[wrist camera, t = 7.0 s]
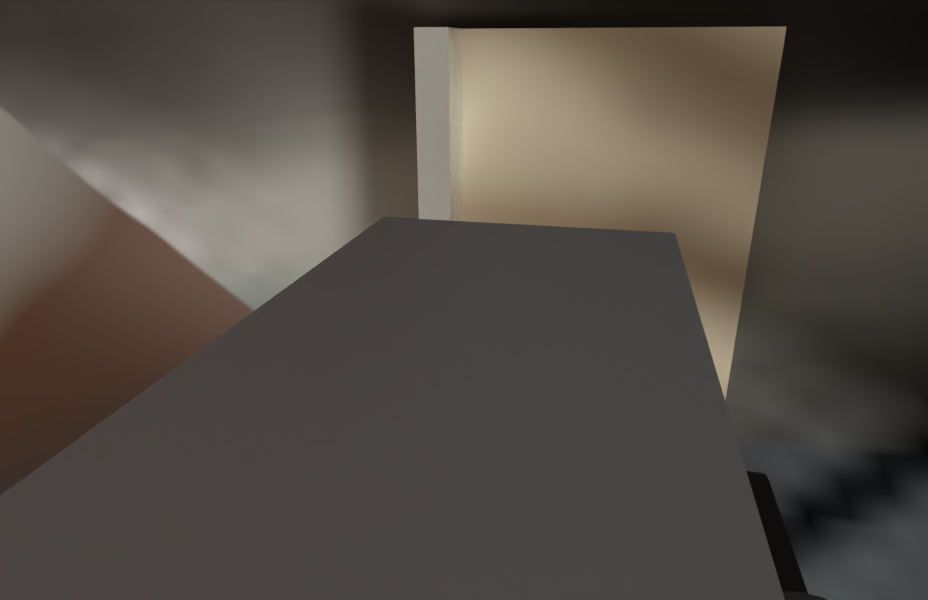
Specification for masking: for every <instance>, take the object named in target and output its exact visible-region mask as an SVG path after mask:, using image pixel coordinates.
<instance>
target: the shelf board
mask: <svg viewBox="0 0 928 600" xmlns="http://www.w3.org/2000/svg"><path fill="white" fill-rule="evenodd" d="M786 28H787V26H785V27H638V28H491V29H460V28H452V27H414V55H415V93H416V131H417V169H418V208H419V219H431V220H450V221H468V222H486V223H505V224H523V225H541V226H560V227H578V228H597V229H615V230H633V231H652V232H670V233H675V235H676V238H677V241H678V245H679V248H680V251H681V255H682V258H683V261H684V265H685V268H686V271H687V275H688V278H689V281H690V285H691V288H692V291H693V295H694V298H695V302H696V305H697V308H698V312H699V315H700V318H701V322H702V325H703V328H704V332H705V335H706V338H707V342H708V345H709V348H710V352H711V355H712V358H713V362H714V365H715V368H716V372H717V375H718V378H719V382H720V385H721V388H722V392H723V395H724V398H725V399H726V393H727V387H728V381H729V375H730V369H731V363H732V357H733V350H734V344H735V338H736V332H737V326H738V320H739V314H740V308H741V302H742V296H743V290H744V284H745V278H746V271H747V265H748V259H749V253H750V247H751V241H752V235H753V229H754V223H755V217H756V211H757V205H758V199H759V192H760V186H761V180H762V174H763V168H764V162H765V156H766V150H767V144H768V138H769V132H770V126H771V119H772V113H773V107H774V101H775V95H776V89H777V83H778V77H779V71H780V65H781V59H782V53H783V47H784V40H785V34H786Z"/></svg>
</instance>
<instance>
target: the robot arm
mask: <svg viewBox="0 0 928 600" xmlns="http://www.w3.org/2000/svg"><path fill="white" fill-rule="evenodd" d="M746 472H747V475H748V478H749V482H750V485H751V488H752V492H753V495H754V498H755V502H756V505H757V508H758V512H759V515H760V518H761V522H762V525H763V528H764V532H765V535H766V538H767V542H768V545H769V548H770V552H771V555H772V558H773V562H774V565H775V568H776V572H777V575H778V578H779V582H780V585H781V589H782V592H783V595H784V599H785V600H827V599H825V598H823V597H819V596H815V595H811V594H808V592H807V589H806V587H805V584H804V581H803V578H802V575H801V572H800V569H799V566H798V563H797V560H796V558H795V555H794V552H793V549H792V546H791V543H790V540H789V537H788V534H787V531H786V529H785V526H784V523H783V520H782V517H781V514H780V511H779V508H778V505H777V502H776V500H775V497H774V494H773V491H772V488H771V485H770V482H769V480H768V478H767V476H766V475H765V474H763V473H758V472H750V471H746Z"/></svg>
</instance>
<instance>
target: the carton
mask: <svg viewBox="0 0 928 600" xmlns="http://www.w3.org/2000/svg"><path fill="white" fill-rule="evenodd" d="M0 600H785V599H784V595H783V592H782V589H781V585H780V582H779V578H778V575H777V572H776V568H775V565H774V562H773V558H772V555H771V552H770V548H769V545H768V542H767V538H766V535H765V532H764V528H763V525H762V522H761V518H760V515H759V512H758V508H757V505H756V502H755V498H754V495H753V492H752V488H751V485H750V482H749V478H748V475H747V472H746V468H745V465H744V462H743V458H742V455H741V452H740V448H739V445H738V442H737V438H736V435H735V432H734V428H733V425H732V422H731V418H730V415H729V412H728V408H727V405H726V402H725V398H724V395H723V392H722V388H721V385H720V382H719V378H718V375H717V372H716V368H715V365H714V362H713V358H712V355H711V352H710V348H709V345H708V342H707V338H706V335H705V332H704V328H703V325H702V322H701V318H700V315H699V312H698V308H697V305H696V302H695V298H694V295H693V291H692V288H691V285H690V281H689V278H688V275H687V271H686V268H685V265H684V261H683V258H682V255H681V251H680V248H679V245H678V241H677V238H676V235H675V233H670V232H652V231H633V230H615V229H597V228H578V227H560V226H541V225H523V224H505V223H486V222H468V221H450V220H431V219H413V218H395V217H383V218H382V219H380V220H379V221H378V222H376V223H375V224H373V225H372V226H371V227H369V228H368V229H366V230H365V231H364V232H362V233H361V234H360V235H358V236H357V237H355V238H354V239H353V240H351V241H350V242H349V243H347V244H346V245H344V246H343V247H342V248H340V249H339V250H338V251H336V252H335V253H333V254H332V255H331V256H329V257H328V258H327V259H325V260H324V261H322V262H321V263H320V264H318V265H317V266H316V267H314V268H313V269H311V270H310V271H309V272H307V273H306V274H305V275H303V276H302V277H300V278H299V279H298V280H296V281H295V282H294V283H292V284H291V285H289V286H288V287H287V288H285V289H284V290H283V291H281V292H280V293H278V294H277V295H276V296H274V297H273V298H272V299H270V300H269V301H267V302H266V303H265V304H263V305H262V306H261V307H259V308H258V309H256V310H255V311H254V312H252V313H251V314H250V315H248V316H247V317H245V318H244V319H243V320H241V321H240V322H239V323H237V324H236V325H235V326H233V327H232V328H230V329H229V330H228V331H226V332H225V333H223V334H222V335H221V336H219V337H218V338H216V339H215V340H214V341H212V342H211V343H210V344H209V345H207V346H205V347H204V348H203V349H201V350H200V351H199V352H197V353H196V354H194V355H193V356H192V357H190V358H189V359H188V360H186V361H185V362H183V363H182V364H181V365H179V366H178V367H177V368H175V369H174V370H173V371H171V372H170V373H168V374H167V375H166V376H164V377H163V378H162V379H160V380H159V381H158V382H156V383H155V384H153V385H152V386H150V387H149V388H148V389H146V390H145V391H144V392H142V393H141V394H139V395H138V396H137V397H135V398H134V399H133V400H131V401H130V402H128V403H127V404H126V405H124V406H123V407H122V408H120V409H119V410H117V411H116V412H115V413H113V414H112V415H111V416H109V417H108V418H106V419H105V420H104V421H102V422H101V423H100V424H98V425H97V426H96V427H94V428H93V429H91V430H90V431H89V432H87V433H86V434H84V435H83V436H82V437H80V438H79V439H77V440H76V441H75V442H73V443H72V444H71V445H69V446H68V447H67V448H65V449H64V450H62V451H61V452H60V453H58V454H57V455H55V456H54V457H53V458H51V459H50V460H49V461H47V462H46V463H45V464H43V465H42V466H40V467H39V468H38V469H36V470H35V471H33V472H32V473H31V474H29V475H28V476H27V477H25V478H24V479H22V480H21V481H20V482H18V483H17V484H16V485H14V486H13V487H11V488H10V489H9V490H7V491H6V492H5V493H3V494H2V495H1V496H0Z"/></svg>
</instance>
